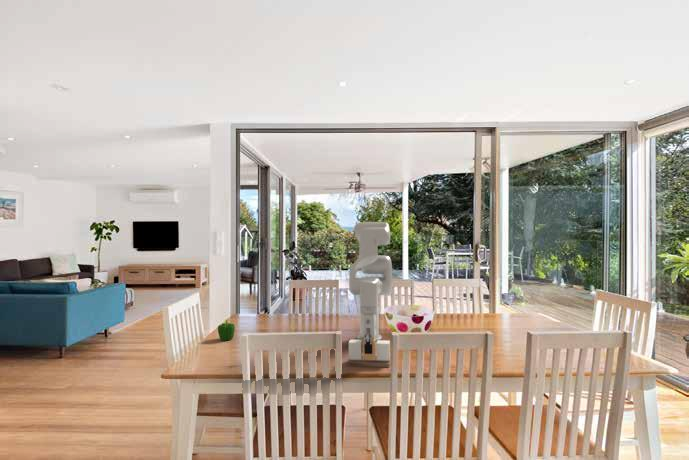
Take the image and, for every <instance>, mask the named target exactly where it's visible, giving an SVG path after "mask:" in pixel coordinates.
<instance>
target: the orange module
mask: <svg viewBox="0 0 689 460" xmlns="http://www.w3.org/2000/svg"><path fill="white" fill-rule="evenodd" d="M364 344H365V338H363V352H362V356H363V360H375V357H376V356H377V344H376V341H375V338H372V354H365V351H364Z"/></svg>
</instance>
